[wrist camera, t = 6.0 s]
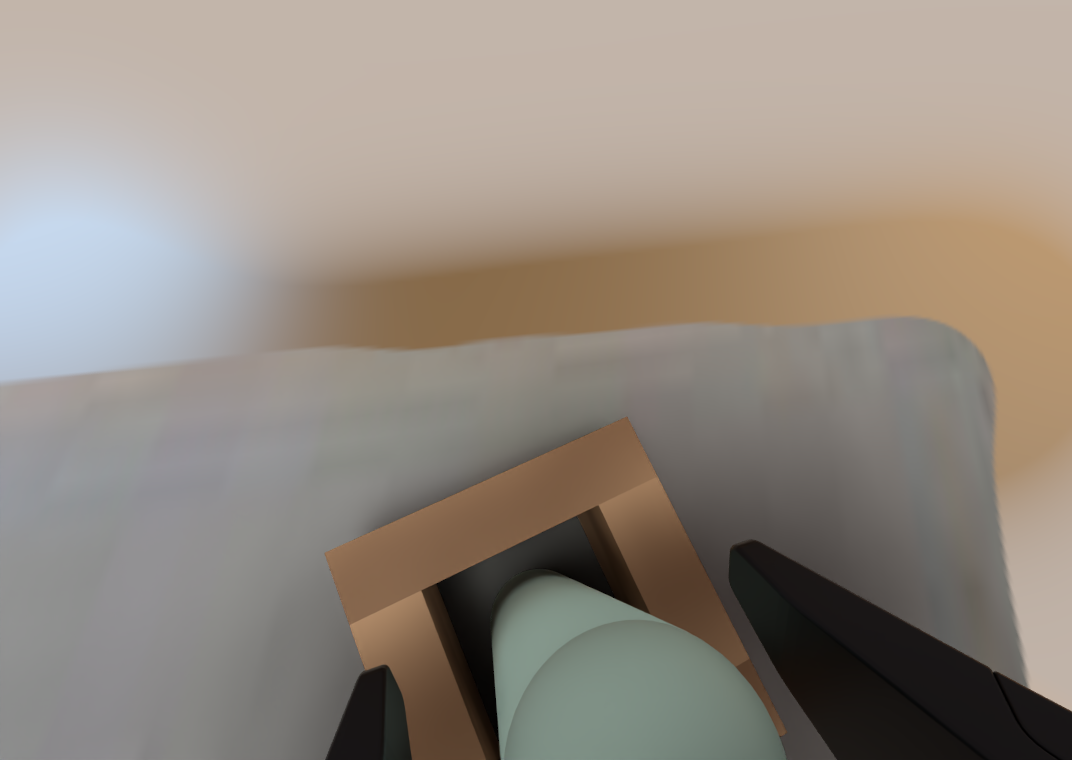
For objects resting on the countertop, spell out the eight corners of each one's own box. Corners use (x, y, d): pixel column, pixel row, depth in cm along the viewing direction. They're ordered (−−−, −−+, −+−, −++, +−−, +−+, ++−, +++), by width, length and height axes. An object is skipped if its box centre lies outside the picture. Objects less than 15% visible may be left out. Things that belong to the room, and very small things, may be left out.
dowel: (594, 666, 17) (915, 1039, 4) (495, 681, 17) (532, 1138, 4) (580, 562, 18) (815, 621, 5) (486, 575, 18) (492, 670, 5)
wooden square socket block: (721, 690, 18) (787, 732, 14) (464, 841, 16) (458, 938, 12) (599, 440, 20) (627, 416, 16) (358, 549, 18) (324, 553, 14)
